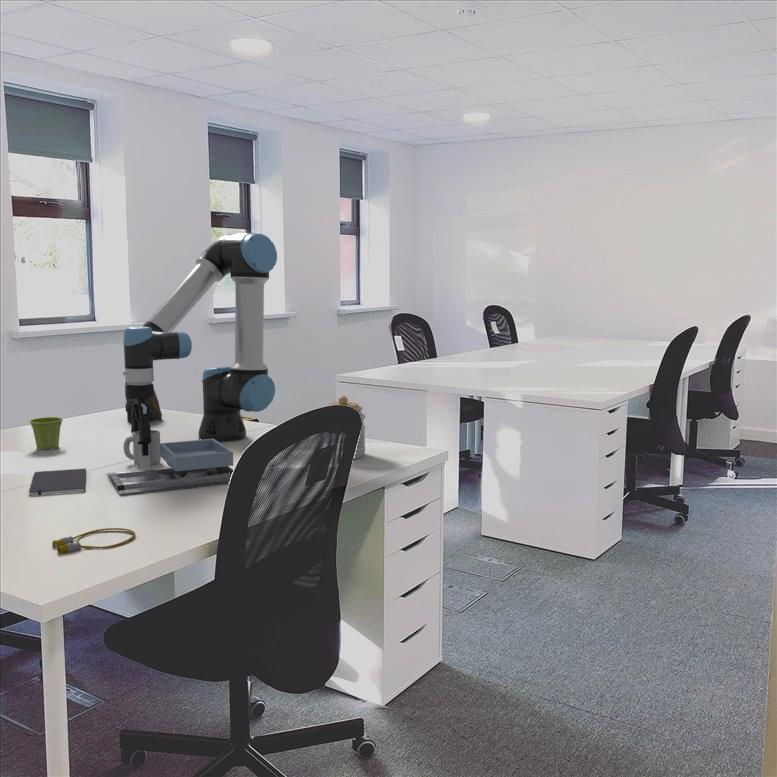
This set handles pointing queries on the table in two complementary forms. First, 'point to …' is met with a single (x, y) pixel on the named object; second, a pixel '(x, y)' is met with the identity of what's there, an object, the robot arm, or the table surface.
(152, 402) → the brown rock
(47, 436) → the plant pot
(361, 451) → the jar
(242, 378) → the robot arm
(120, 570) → the table surface
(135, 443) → the cup
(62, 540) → the extension cord
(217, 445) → the cart
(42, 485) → the notebook
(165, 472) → the track
